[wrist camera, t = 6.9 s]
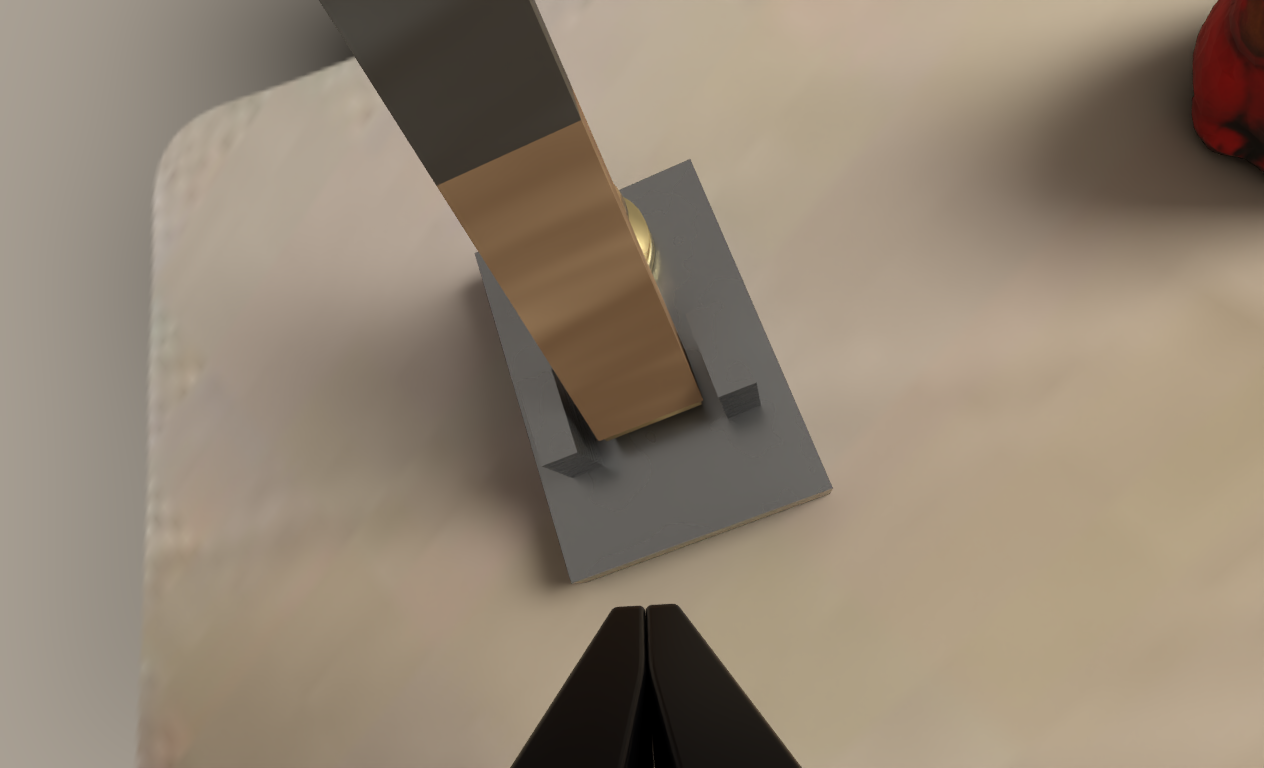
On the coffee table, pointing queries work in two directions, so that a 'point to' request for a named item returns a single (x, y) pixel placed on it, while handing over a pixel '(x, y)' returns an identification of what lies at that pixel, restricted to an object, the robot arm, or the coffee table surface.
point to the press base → (686, 442)
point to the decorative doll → (1231, 80)
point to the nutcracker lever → (528, 193)
